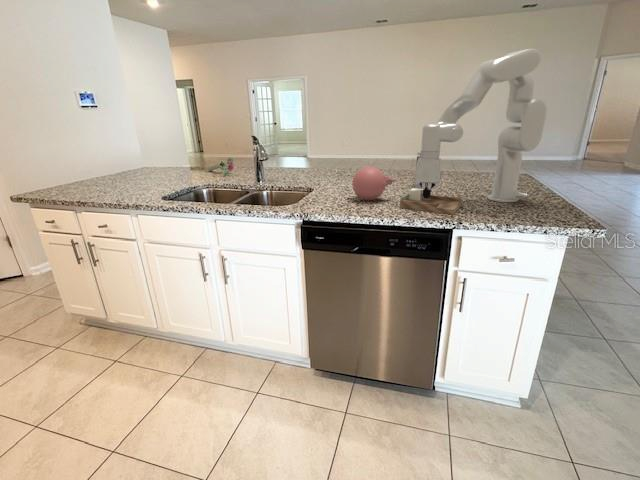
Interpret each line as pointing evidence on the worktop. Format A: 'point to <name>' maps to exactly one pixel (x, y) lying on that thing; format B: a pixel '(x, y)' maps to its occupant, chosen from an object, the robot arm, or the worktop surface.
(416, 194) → the block
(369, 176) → the balloon
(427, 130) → the robot arm
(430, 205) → the box
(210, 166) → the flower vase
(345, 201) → the worktop surface
